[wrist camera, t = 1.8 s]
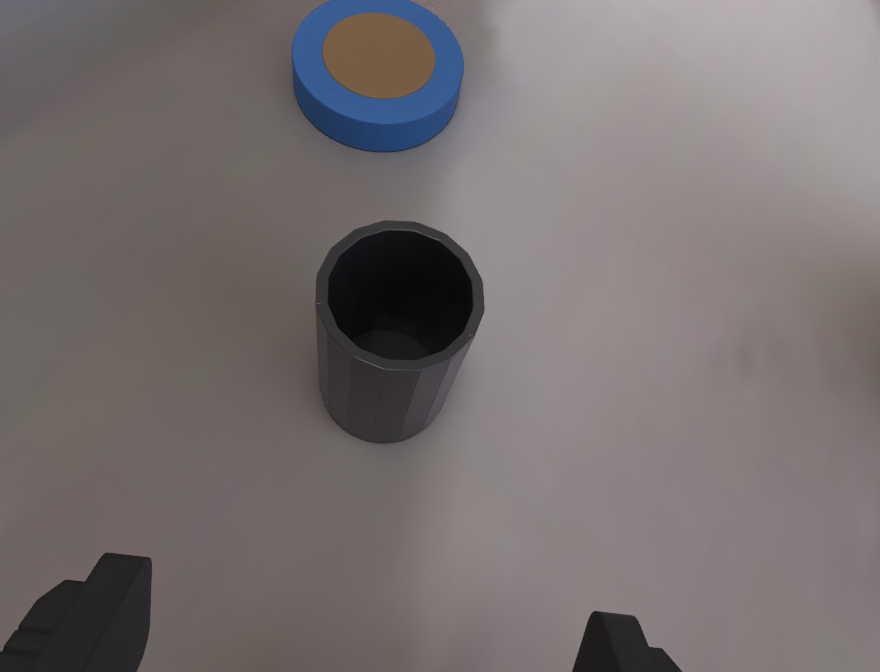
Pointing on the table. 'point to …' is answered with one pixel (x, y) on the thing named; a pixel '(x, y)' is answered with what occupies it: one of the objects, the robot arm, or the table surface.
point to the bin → (393, 327)
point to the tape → (376, 73)
